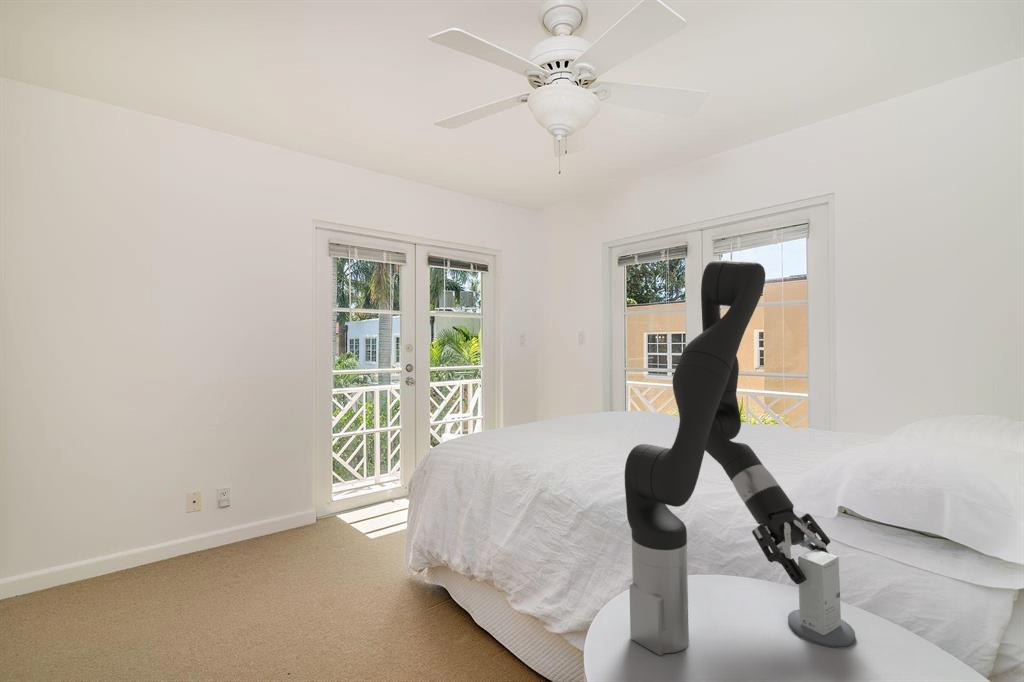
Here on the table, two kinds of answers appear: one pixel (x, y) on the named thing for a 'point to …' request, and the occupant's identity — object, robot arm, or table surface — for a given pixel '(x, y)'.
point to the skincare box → (819, 591)
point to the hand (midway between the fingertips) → (818, 577)
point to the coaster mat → (835, 638)
